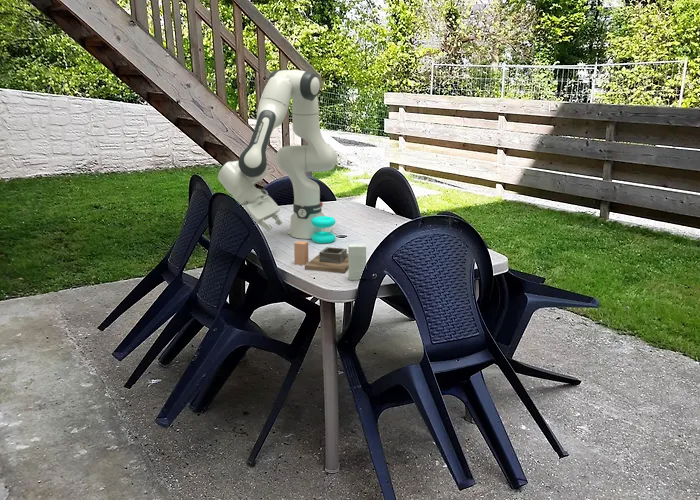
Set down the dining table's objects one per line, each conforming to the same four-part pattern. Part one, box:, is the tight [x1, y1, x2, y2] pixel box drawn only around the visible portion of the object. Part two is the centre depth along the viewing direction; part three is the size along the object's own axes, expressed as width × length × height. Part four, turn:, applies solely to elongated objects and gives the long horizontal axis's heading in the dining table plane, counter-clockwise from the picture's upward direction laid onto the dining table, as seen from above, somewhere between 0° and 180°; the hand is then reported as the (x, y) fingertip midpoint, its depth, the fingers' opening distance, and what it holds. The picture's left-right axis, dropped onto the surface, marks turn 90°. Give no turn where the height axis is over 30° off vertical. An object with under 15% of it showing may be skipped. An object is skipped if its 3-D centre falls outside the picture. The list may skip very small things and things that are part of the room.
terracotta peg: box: [293, 240, 310, 266], centre depth 238 cm, size 4×4×8 cm
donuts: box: [311, 215, 336, 244], centre depth 269 cm, size 10×10×10 cm
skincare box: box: [347, 243, 367, 281], centre depth 220 cm, size 6×4×12 cm
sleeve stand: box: [304, 246, 349, 274], centre depth 238 cm, size 20×15×5 cm
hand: (275, 226), depth 238 cm, fingers open, 8 cm apart
